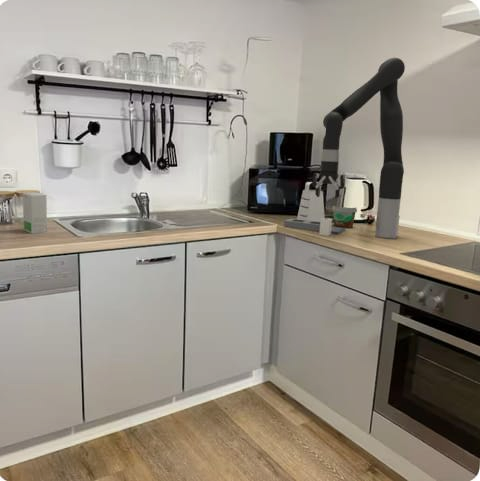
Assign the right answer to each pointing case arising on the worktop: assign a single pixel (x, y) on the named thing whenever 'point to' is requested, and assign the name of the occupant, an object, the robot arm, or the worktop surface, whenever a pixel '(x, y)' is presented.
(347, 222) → the food container
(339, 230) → the phone
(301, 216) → the grater
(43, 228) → the skincare box
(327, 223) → the block
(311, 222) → the power strip
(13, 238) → the worktop surface
